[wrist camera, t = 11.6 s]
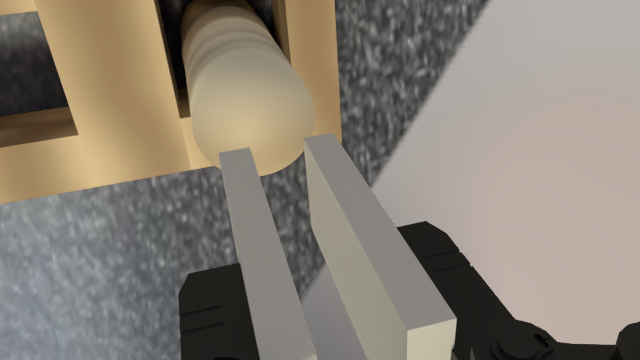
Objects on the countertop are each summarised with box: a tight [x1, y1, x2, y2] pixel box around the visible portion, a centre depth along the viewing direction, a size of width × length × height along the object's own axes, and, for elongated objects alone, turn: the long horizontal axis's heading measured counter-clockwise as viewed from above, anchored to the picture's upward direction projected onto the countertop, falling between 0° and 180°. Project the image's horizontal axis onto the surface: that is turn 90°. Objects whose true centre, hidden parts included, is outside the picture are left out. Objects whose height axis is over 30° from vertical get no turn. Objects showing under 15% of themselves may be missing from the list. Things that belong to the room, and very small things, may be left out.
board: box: [0, 0, 342, 204], centre depth 25 cm, size 20×11×4 cm, turn 94°
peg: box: [180, 0, 315, 176], centre depth 22 cm, size 4×4×12 cm
